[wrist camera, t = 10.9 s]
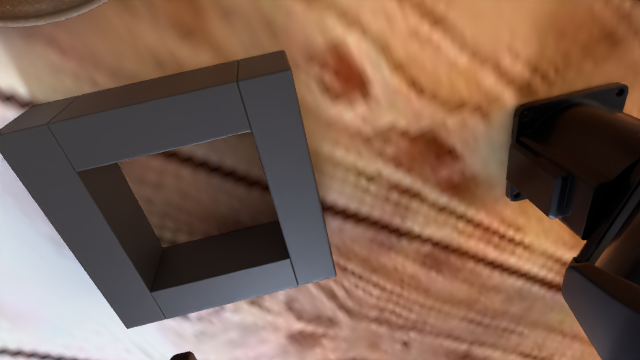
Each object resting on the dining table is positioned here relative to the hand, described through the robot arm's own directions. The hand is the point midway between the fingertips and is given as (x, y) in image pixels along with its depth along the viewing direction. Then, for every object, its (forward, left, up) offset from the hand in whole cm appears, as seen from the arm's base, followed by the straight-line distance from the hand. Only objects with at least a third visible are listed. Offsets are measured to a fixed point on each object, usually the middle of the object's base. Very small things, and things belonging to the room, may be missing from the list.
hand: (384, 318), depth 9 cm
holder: (+6, +2, -13) cm, 14 cm away
